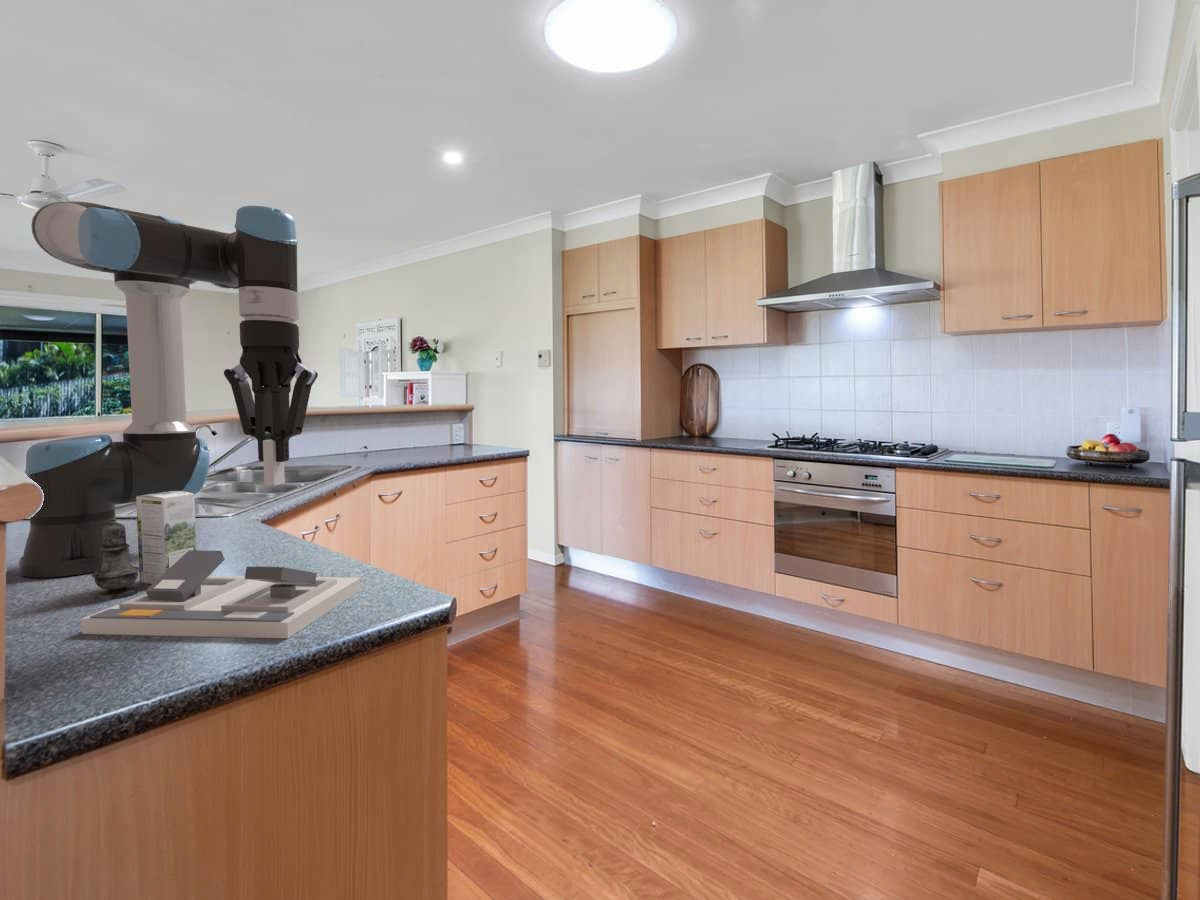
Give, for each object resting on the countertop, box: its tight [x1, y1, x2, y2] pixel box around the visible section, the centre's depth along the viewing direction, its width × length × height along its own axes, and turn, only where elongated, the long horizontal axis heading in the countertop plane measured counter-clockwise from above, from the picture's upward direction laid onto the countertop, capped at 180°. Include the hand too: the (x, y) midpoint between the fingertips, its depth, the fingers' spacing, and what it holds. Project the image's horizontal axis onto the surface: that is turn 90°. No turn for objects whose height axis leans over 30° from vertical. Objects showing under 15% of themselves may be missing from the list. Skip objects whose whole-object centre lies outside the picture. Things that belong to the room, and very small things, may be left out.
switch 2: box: [244, 565, 317, 584], centre depth 87 cm, size 9×5×2 cm, turn 176°
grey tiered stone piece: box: [91, 517, 140, 601], centre depth 94 cm, size 6×6×12 cm
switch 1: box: [145, 549, 225, 601], centre depth 87 cm, size 9×5×2 cm, turn 176°
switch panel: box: [81, 574, 362, 639], centre depth 87 cm, size 20×27×4 cm
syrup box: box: [135, 491, 197, 585], centre depth 102 cm, size 6×6×14 cm
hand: (274, 483), depth 91 cm, fingers closed
